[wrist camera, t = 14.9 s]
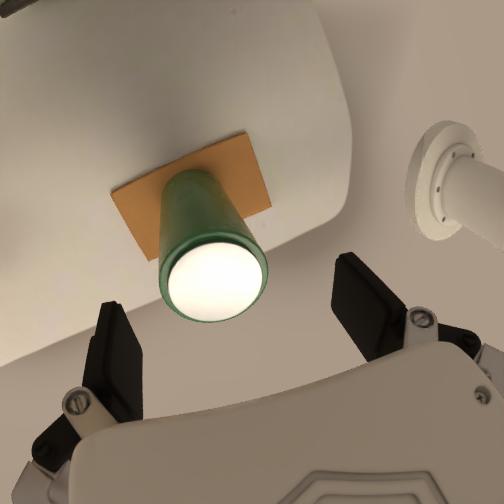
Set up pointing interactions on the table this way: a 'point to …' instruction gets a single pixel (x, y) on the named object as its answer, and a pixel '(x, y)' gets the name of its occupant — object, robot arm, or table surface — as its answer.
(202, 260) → the green can
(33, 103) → the table surface
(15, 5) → the drawer
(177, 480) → the robot arm
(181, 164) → the mat
